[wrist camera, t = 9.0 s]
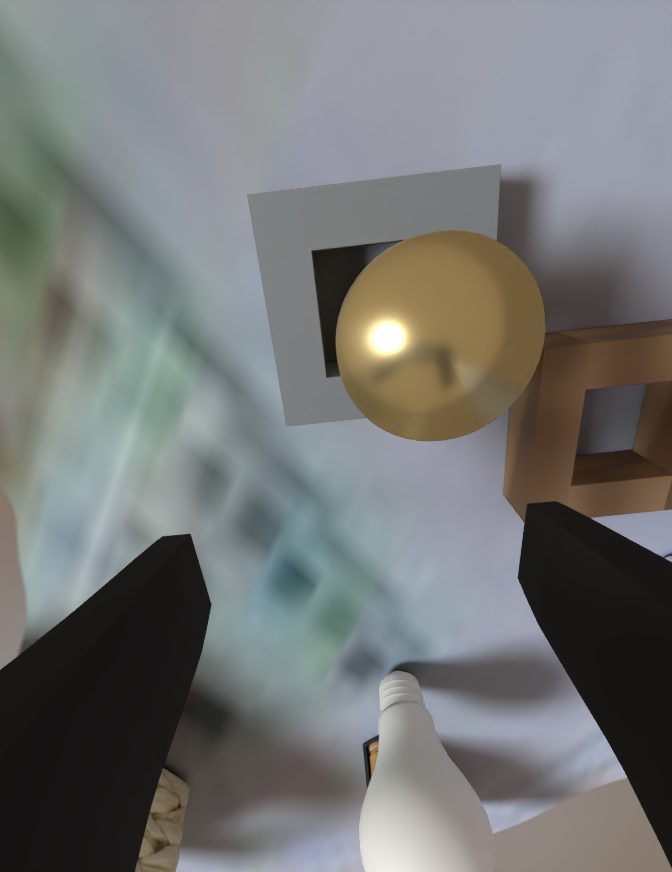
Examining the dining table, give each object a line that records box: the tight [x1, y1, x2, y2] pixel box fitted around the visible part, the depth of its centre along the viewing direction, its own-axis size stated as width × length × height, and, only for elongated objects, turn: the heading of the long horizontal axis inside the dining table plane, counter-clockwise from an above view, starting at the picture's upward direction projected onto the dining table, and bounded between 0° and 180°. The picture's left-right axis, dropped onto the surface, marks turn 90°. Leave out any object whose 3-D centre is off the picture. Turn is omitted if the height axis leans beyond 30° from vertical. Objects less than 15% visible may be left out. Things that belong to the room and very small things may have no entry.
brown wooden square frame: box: [503, 319, 672, 523], centre depth 18 cm, size 8×8×2 cm
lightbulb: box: [359, 671, 495, 872], centre depth 21 cm, size 6×6×11 cm
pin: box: [336, 230, 545, 441], centre depth 12 cm, size 4×4×9 cm
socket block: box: [247, 164, 501, 426], centre depth 15 cm, size 8×8×2 cm
